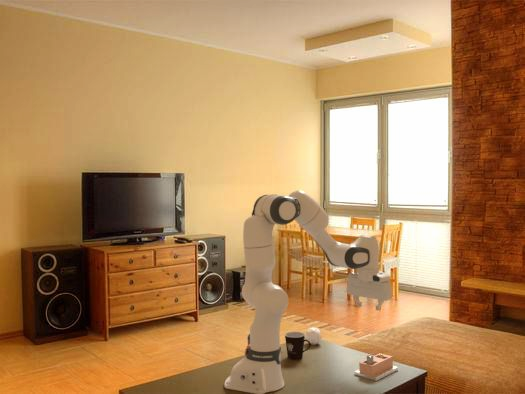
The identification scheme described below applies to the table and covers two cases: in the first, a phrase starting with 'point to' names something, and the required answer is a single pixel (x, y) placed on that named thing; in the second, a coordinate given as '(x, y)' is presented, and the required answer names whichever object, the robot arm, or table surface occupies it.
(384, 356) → the link
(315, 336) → the geometric ball
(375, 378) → the post plate
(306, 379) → the table surface
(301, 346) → the coffee mug
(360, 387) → the table surface
